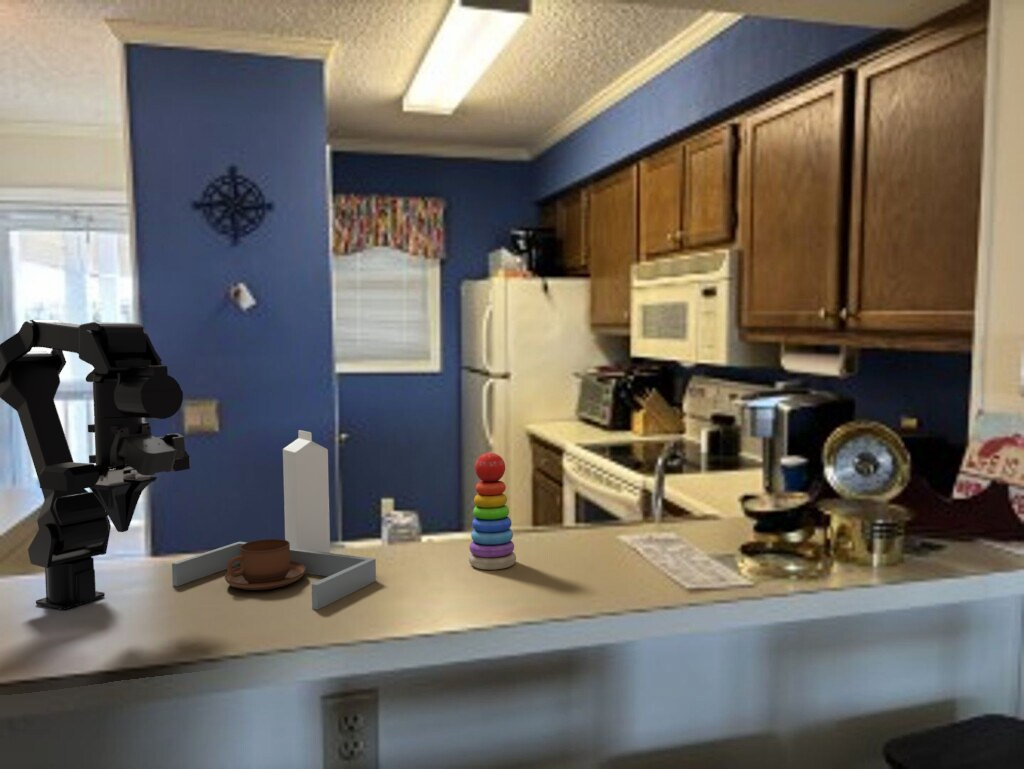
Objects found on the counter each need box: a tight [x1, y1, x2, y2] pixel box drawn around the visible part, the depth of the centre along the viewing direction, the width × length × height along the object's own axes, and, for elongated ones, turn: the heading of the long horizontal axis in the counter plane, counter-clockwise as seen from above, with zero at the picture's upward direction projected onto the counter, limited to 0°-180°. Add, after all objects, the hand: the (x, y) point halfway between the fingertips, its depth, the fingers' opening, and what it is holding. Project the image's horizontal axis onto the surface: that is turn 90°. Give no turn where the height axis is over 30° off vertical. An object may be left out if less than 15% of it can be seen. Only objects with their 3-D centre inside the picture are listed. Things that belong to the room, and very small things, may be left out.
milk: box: [282, 429, 331, 553], centre depth 132 cm, size 6×6×22 cm
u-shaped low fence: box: [171, 541, 377, 610], centre depth 116 cm, size 28×14×4 cm, turn 66°
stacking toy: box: [468, 452, 517, 571], centre depth 125 cm, size 8×8×19 cm
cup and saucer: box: [224, 538, 306, 591], centre depth 116 cm, size 12×12×6 cm
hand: (122, 531), depth 101 cm, fingers closed
